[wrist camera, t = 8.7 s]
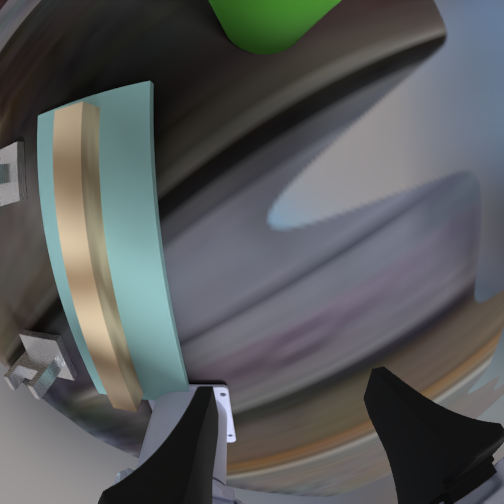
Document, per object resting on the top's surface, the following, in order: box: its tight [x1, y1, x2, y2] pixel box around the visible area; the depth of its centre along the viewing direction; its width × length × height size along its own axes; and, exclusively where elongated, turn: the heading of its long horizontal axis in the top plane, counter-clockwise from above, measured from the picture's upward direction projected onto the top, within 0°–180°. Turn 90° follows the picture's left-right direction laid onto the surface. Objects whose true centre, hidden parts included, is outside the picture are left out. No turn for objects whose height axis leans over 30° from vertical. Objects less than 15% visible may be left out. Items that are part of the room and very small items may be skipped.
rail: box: [53, 101, 143, 412], centre depth 17 cm, size 24×2×2 cm, turn 1°
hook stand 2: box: [4, 330, 78, 400], centre depth 18 cm, size 5×6×6 cm
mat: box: [37, 81, 189, 401], centre depth 18 cm, size 26×10×1 cm, turn 2°
